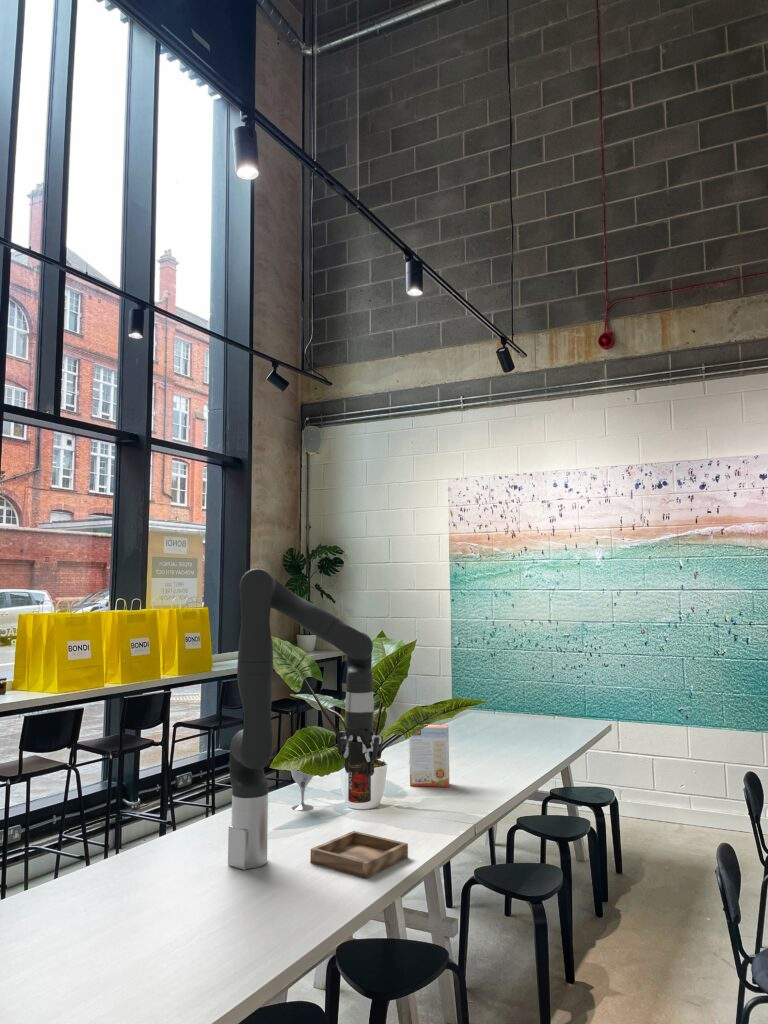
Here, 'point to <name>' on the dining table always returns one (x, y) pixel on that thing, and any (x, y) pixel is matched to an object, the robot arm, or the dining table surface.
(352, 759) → the deodorant
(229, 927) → the dining table surface
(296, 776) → the wine glass
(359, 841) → the tray
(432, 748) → the cracker box
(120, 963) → the dining table surface
